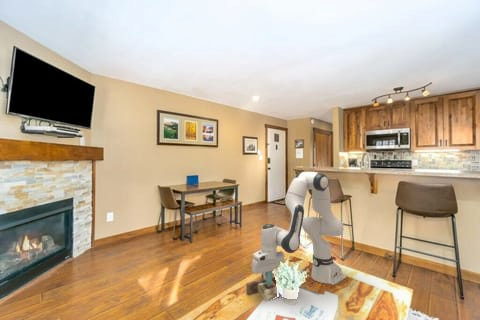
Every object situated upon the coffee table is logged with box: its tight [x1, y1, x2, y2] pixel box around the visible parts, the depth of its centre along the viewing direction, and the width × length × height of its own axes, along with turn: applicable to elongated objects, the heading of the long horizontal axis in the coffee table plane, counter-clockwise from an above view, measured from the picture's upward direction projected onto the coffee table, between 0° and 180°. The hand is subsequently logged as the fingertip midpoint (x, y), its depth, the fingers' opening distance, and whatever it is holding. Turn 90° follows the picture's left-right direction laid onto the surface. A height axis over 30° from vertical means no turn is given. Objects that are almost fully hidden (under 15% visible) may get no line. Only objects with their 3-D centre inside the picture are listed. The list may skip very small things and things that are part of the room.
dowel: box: [266, 271, 272, 286], centre depth 126 cm, size 3×3×9 cm
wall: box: [245, 277, 276, 296], centre depth 131 cm, size 22×2×6 cm, turn 114°
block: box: [257, 282, 277, 302], centre depth 126 cm, size 9×9×5 cm
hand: (268, 278), depth 126 cm, fingers closed on dowel, 3 cm apart
